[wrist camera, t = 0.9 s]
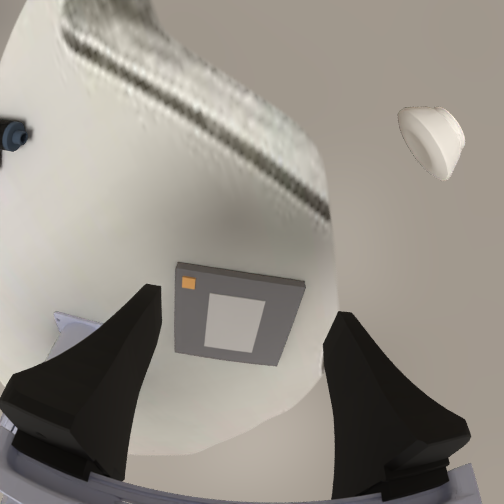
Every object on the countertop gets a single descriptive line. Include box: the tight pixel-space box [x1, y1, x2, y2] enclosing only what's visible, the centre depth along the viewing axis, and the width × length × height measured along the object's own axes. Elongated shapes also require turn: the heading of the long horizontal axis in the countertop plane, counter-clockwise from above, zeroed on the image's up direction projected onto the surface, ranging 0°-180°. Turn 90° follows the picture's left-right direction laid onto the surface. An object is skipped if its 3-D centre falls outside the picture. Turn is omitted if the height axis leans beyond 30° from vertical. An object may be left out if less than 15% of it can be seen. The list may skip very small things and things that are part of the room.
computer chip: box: [174, 262, 306, 366], centre depth 26 cm, size 10×10×1 cm
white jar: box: [398, 107, 465, 181], centre depth 15 cm, size 5×3×5 cm, turn 38°
